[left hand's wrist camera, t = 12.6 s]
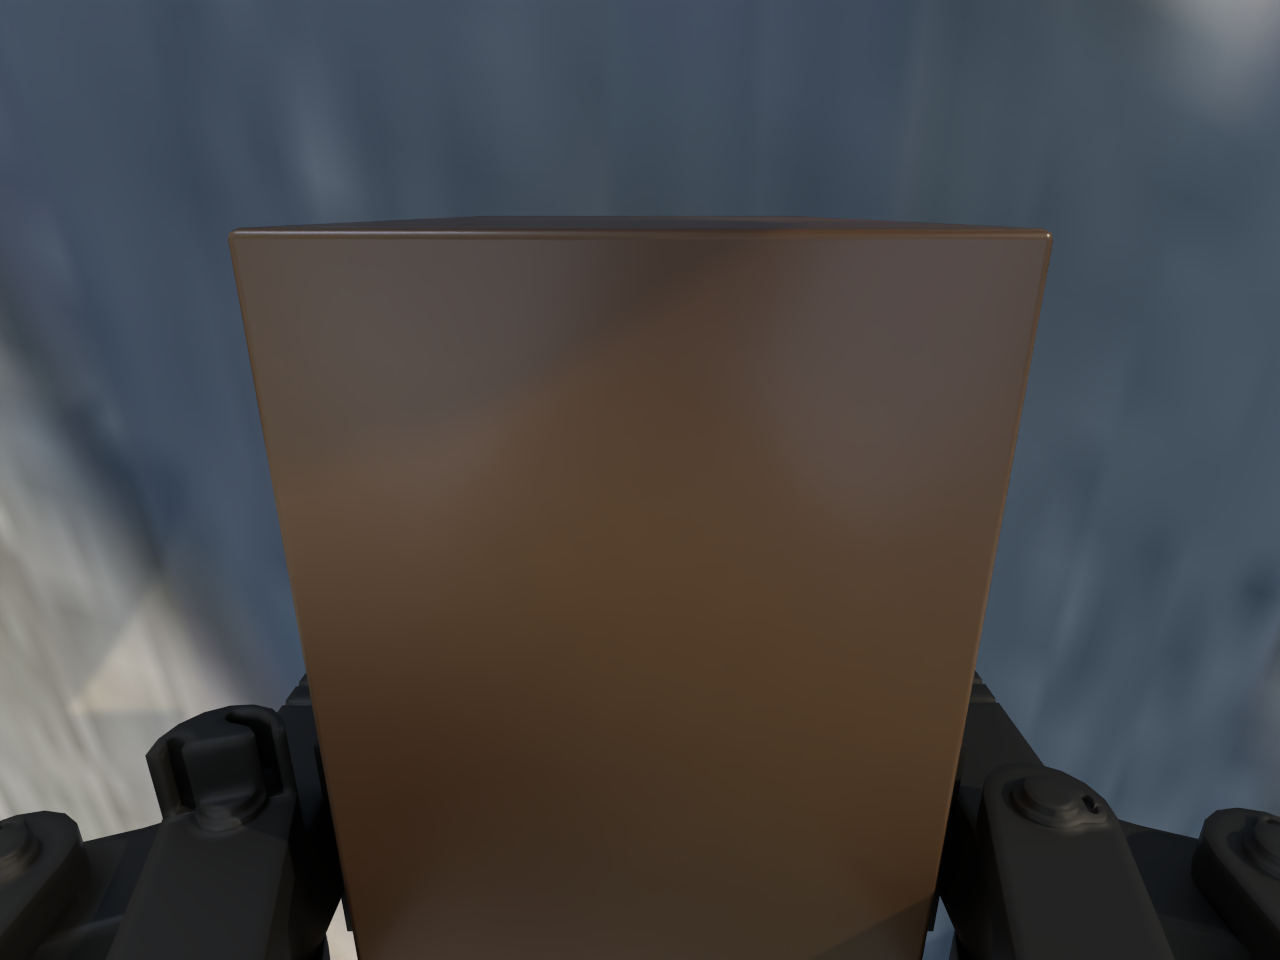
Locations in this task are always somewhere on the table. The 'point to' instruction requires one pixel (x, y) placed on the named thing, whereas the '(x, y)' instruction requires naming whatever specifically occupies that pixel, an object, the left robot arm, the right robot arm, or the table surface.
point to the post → (640, 566)
